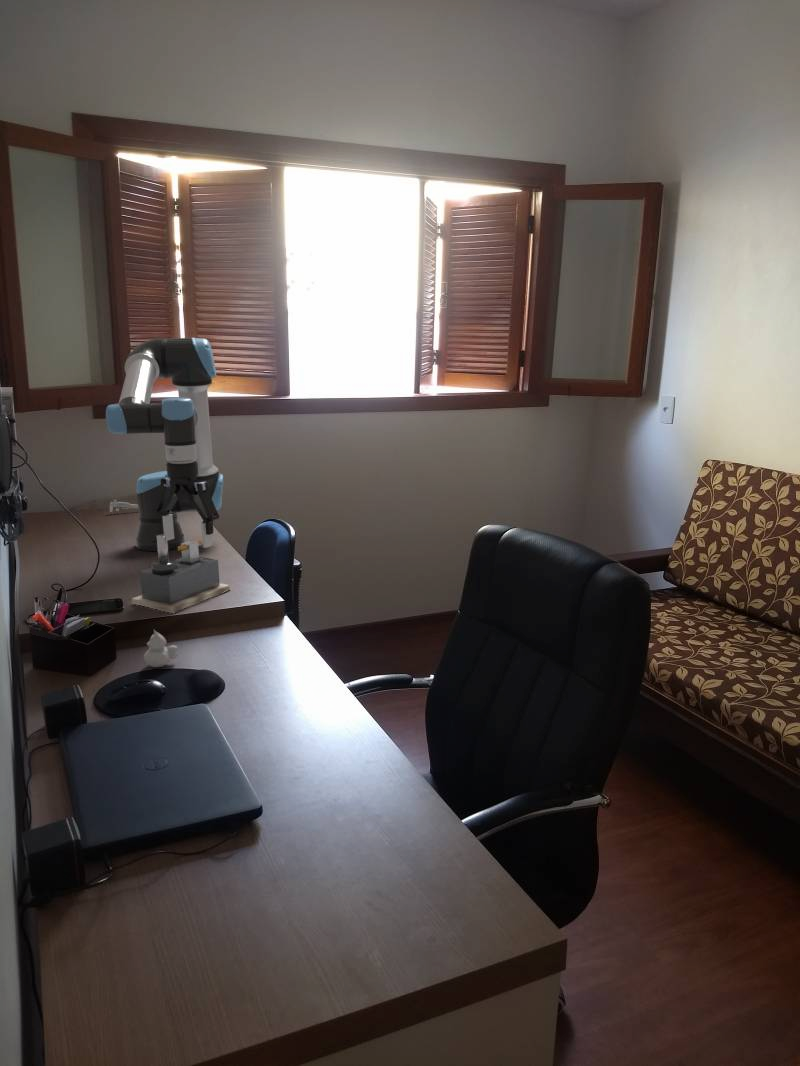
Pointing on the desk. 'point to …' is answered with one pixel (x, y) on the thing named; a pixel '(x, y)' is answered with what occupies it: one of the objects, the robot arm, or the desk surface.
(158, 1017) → the desk surface
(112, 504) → the caliper
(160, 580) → the block
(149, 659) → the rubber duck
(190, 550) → the light grey boxy piece
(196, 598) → the base board
